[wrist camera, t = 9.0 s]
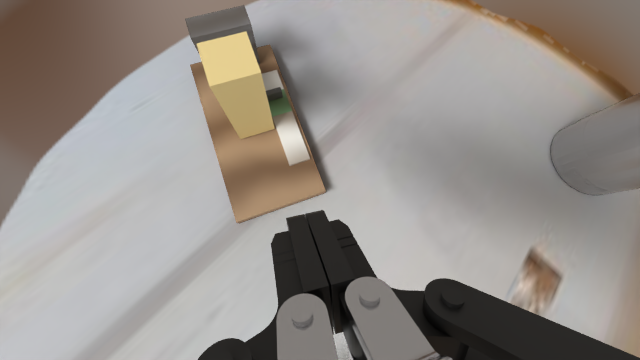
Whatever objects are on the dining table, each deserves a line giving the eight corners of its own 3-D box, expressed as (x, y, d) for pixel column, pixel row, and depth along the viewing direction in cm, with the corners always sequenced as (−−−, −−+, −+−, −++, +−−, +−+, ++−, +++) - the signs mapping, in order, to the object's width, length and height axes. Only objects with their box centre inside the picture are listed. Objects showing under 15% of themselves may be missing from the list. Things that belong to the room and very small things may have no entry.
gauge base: (324, 193, 30) (331, 176, 23) (239, 223, 28) (218, 215, 21) (271, 51, 34) (262, 0, 27) (194, 71, 32) (164, 23, 26)
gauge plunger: (292, 123, 30) (287, 65, 20) (240, 139, 29) (209, 86, 20) (272, 69, 32) (258, -9, 22) (222, 82, 31) (185, 7, 21)
